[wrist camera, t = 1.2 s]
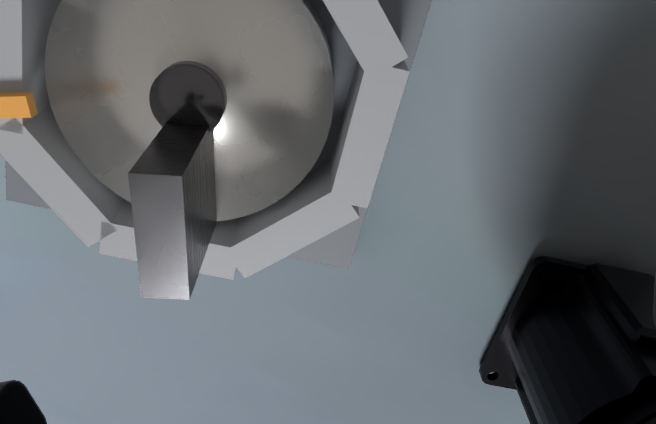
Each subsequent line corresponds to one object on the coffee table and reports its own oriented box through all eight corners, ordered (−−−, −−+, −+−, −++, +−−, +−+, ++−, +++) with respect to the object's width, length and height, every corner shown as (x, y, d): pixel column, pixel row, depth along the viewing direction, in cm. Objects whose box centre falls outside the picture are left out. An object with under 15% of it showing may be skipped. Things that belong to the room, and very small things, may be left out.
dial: (325, 200, 20) (324, 306, 15) (90, 187, 20) (3, 290, 14) (342, -55, 16) (349, -36, 11) (53, -75, 16) (-83, -66, 11)
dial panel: (347, 252, 23) (351, 318, 19) (22, 185, 21) (-41, 242, 18) (448, -81, 17) (480, -78, 14) (19, -200, 16) (-72, -232, 12)
